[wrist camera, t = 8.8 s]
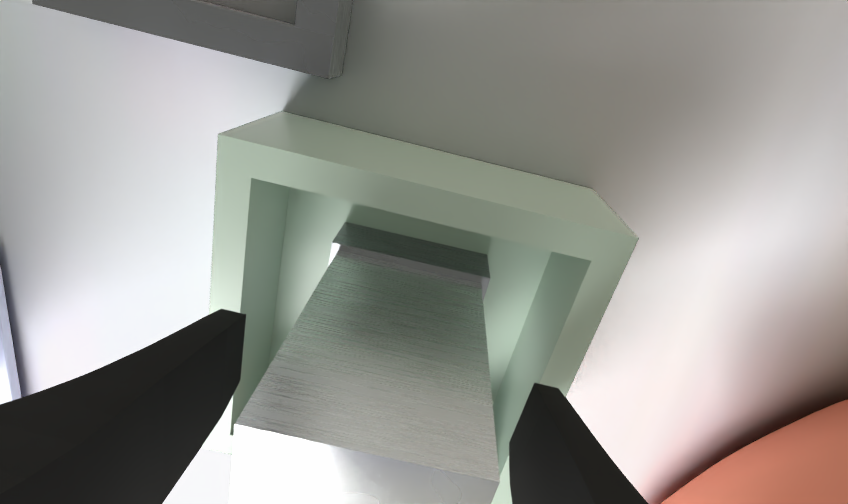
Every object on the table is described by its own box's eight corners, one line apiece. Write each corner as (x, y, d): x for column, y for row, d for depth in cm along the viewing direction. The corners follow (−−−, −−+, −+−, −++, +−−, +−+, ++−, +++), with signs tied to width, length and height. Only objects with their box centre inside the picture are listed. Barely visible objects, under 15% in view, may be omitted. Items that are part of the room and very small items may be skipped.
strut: (326, 340, 16) (212, 592, 9) (345, 221, 14) (220, 411, 7) (452, 368, 16) (446, 640, 9) (487, 254, 14) (516, 475, 7)
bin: (255, 365, 18) (202, 448, 14) (281, 111, 14) (217, 133, 10) (499, 422, 18) (509, 517, 14) (592, 188, 14) (639, 238, 10)
